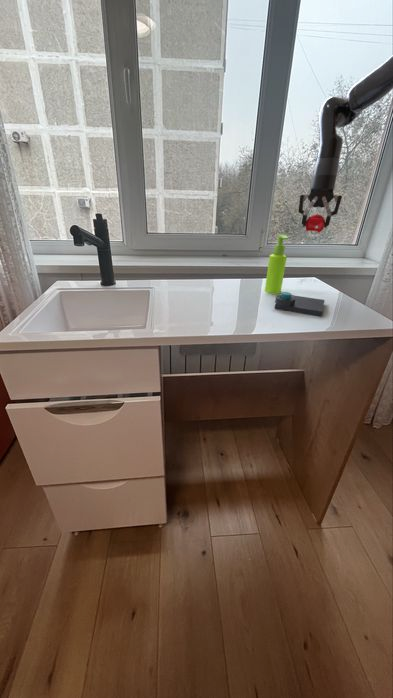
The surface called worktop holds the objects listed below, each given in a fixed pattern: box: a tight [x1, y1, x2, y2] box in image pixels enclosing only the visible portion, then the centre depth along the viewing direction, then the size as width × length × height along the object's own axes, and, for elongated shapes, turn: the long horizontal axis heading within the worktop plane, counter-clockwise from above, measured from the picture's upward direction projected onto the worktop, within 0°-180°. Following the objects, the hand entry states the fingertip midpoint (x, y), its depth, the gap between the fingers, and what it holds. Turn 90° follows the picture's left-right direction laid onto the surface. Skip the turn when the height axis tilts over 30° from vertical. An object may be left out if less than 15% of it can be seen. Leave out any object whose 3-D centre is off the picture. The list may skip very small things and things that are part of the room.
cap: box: [305, 214, 326, 234], centre depth 105 cm, size 8×6×6 cm
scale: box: [274, 294, 326, 318], centre depth 92 cm, size 14×12×4 cm
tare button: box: [280, 291, 292, 300], centre depth 90 cm, size 3×3×2 cm
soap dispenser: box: [264, 234, 289, 295], centre depth 102 cm, size 6×7×20 cm
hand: (314, 226), depth 105 cm, fingers closed on cap, 7 cm apart
